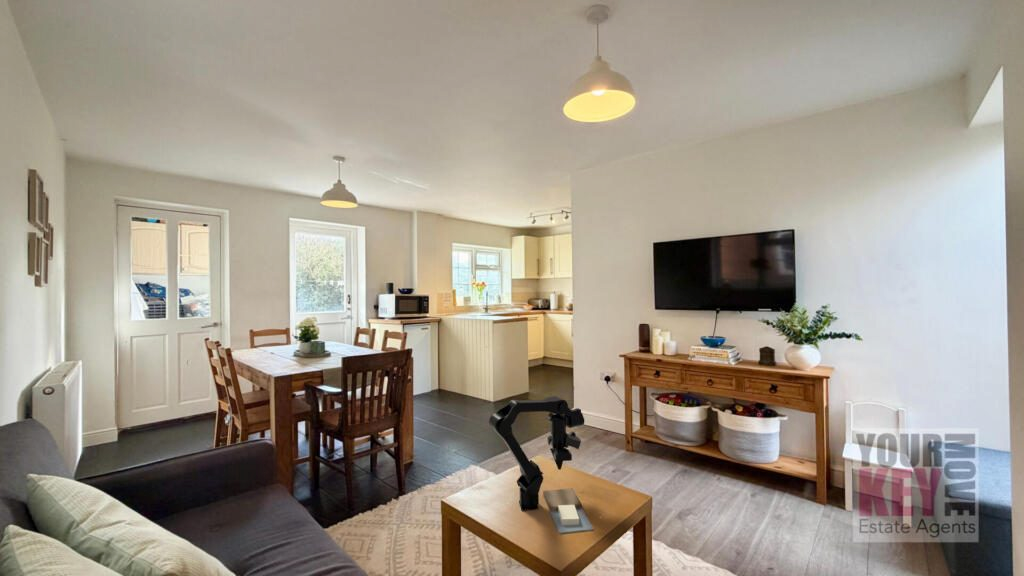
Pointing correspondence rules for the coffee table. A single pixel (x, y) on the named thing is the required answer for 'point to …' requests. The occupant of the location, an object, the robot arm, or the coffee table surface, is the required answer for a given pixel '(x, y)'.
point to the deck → (561, 498)
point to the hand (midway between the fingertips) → (559, 469)
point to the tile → (568, 514)
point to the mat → (582, 526)
